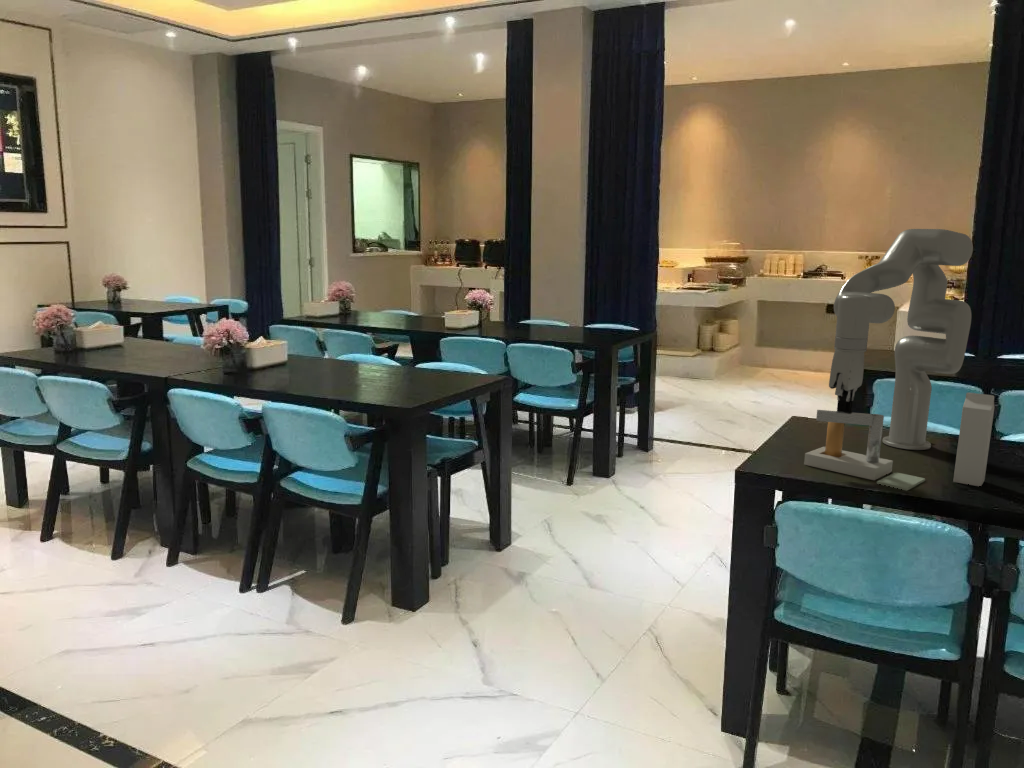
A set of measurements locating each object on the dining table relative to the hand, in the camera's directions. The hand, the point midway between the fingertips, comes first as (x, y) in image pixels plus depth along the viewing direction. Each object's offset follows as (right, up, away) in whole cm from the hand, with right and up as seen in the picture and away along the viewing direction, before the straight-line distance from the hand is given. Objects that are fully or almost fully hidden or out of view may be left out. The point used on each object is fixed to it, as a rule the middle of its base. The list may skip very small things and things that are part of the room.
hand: (843, 415), depth 205 cm
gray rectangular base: (+2, -14, +2) cm, 14 cm away
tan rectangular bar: (-1, -13, +5) cm, 14 cm away
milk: (+28, -16, -7) cm, 33 cm away
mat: (+10, -16, -9) cm, 21 cm away
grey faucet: (0, -11, -1) cm, 11 cm away
